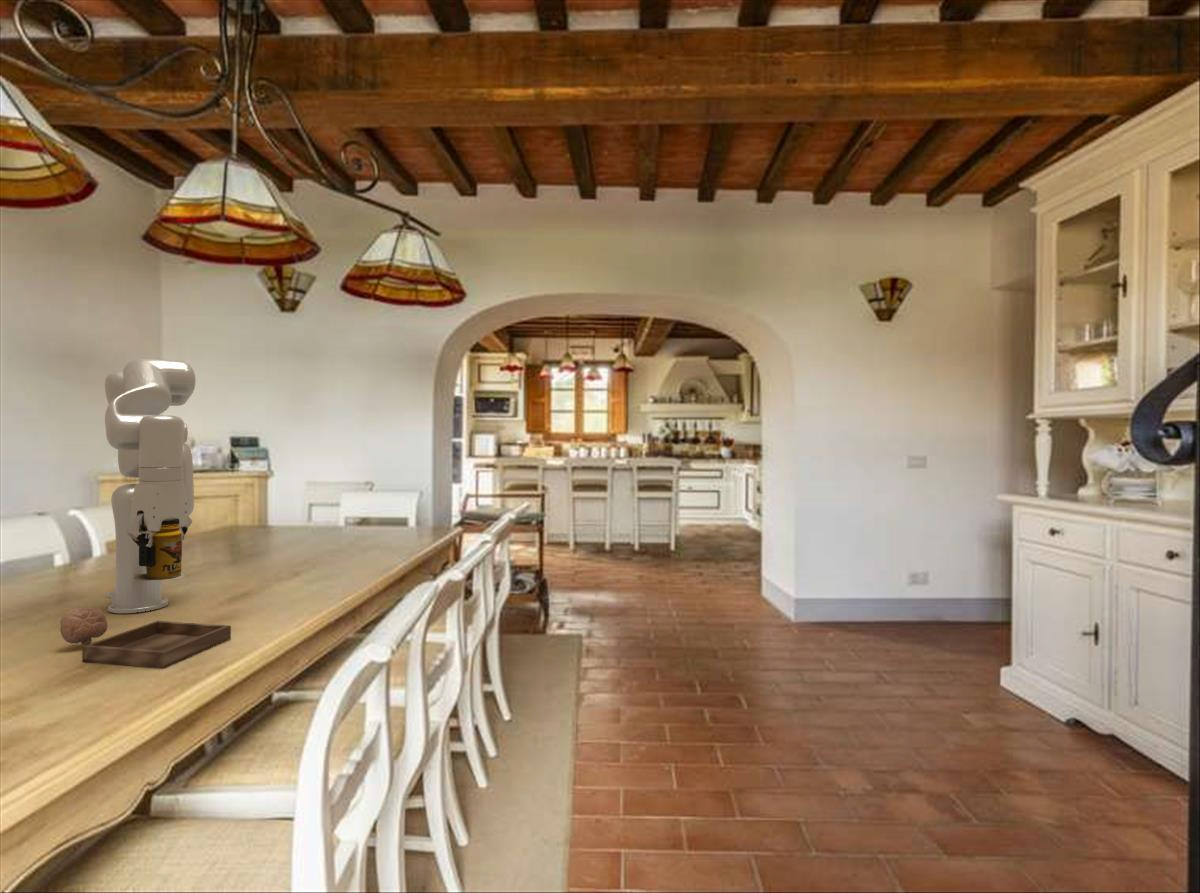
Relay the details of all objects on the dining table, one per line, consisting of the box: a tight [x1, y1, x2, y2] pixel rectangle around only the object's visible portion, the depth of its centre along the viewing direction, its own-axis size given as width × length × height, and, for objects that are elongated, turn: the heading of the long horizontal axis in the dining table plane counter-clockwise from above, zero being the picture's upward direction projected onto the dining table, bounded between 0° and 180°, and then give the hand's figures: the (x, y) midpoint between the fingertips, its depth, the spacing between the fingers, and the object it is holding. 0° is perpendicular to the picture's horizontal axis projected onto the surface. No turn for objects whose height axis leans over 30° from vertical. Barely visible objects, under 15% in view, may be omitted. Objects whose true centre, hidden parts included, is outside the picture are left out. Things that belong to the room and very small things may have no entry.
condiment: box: [133, 518, 184, 582], centre depth 135 cm, size 7×8×12 cm
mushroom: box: [59, 606, 109, 646], centre depth 137 cm, size 8×6×8 cm
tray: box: [81, 620, 232, 669], centre depth 136 cm, size 18×18×3 cm
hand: (160, 562), depth 135 cm, fingers closed on condiment, 6 cm apart
